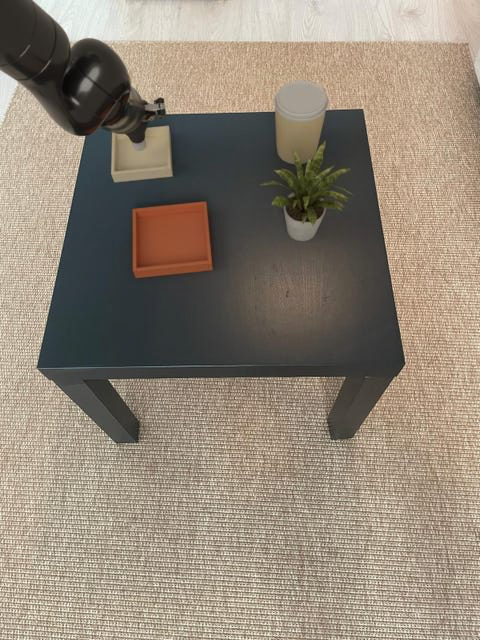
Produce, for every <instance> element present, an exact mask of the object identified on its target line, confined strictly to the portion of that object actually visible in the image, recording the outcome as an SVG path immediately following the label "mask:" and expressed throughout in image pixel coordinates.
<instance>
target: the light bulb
mask: <svg viewBox="0 0 480 640" xmlns="http://www.w3.org/2000/svg"><path fill="white" fill-rule="evenodd" d="M148 125H149V121H147V122H141V123H140V125H139V126H138V127H137V128H136V129H135V130H134V131H132V132H130V133H127V134H126V135H127V136H128V137H129V139H130V140H131V142H132V145H133V147H134V149H135V150H136V151H143V150H144V149H145V148H146V142H145V131H146V129H147V128H148Z"/></svg>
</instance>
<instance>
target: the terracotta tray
mask: <svg viewBox="0 0 480 640" xmlns="http://www.w3.org/2000/svg"><path fill="white" fill-rule="evenodd" d="M207 203H208V202H207V201H206V200H205V201H197V202H196V201H195V202H187V203H186V202H185V203H177V204H166V205H158V206H148V207H147V206H146V207H139V208H137V207H136V208H132V272H133V275H134V277H135V279H142V278H151V277H161V276H170V275H178V274H179V275H181V274H189V273H199V272H207V271H208V272H209V271H214V267H213V265H214V264H213V256H212V255H213V254H212V245H211V233H210V222H209V211H208V205H207Z"/></svg>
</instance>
